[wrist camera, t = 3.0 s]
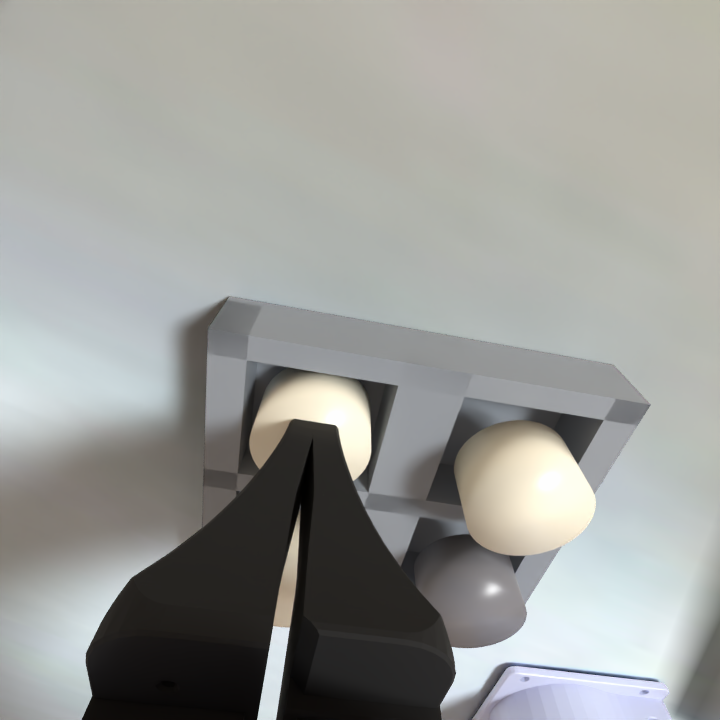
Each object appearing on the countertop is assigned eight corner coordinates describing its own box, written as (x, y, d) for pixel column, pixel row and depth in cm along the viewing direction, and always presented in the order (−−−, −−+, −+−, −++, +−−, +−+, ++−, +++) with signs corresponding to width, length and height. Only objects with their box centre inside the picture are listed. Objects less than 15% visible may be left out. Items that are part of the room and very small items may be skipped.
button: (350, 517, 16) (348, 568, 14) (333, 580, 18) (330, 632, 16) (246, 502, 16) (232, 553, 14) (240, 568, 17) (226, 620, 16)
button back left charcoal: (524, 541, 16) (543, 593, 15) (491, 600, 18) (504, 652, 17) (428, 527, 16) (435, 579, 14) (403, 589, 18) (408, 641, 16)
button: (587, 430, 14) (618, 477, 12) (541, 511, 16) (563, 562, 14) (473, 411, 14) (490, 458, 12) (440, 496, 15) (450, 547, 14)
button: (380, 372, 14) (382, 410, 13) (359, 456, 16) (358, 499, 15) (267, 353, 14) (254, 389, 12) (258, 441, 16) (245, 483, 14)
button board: (613, 364, 16) (650, 404, 14) (501, 569, 21) (515, 618, 19) (229, 296, 14) (207, 328, 12) (217, 531, 20) (200, 580, 18)
